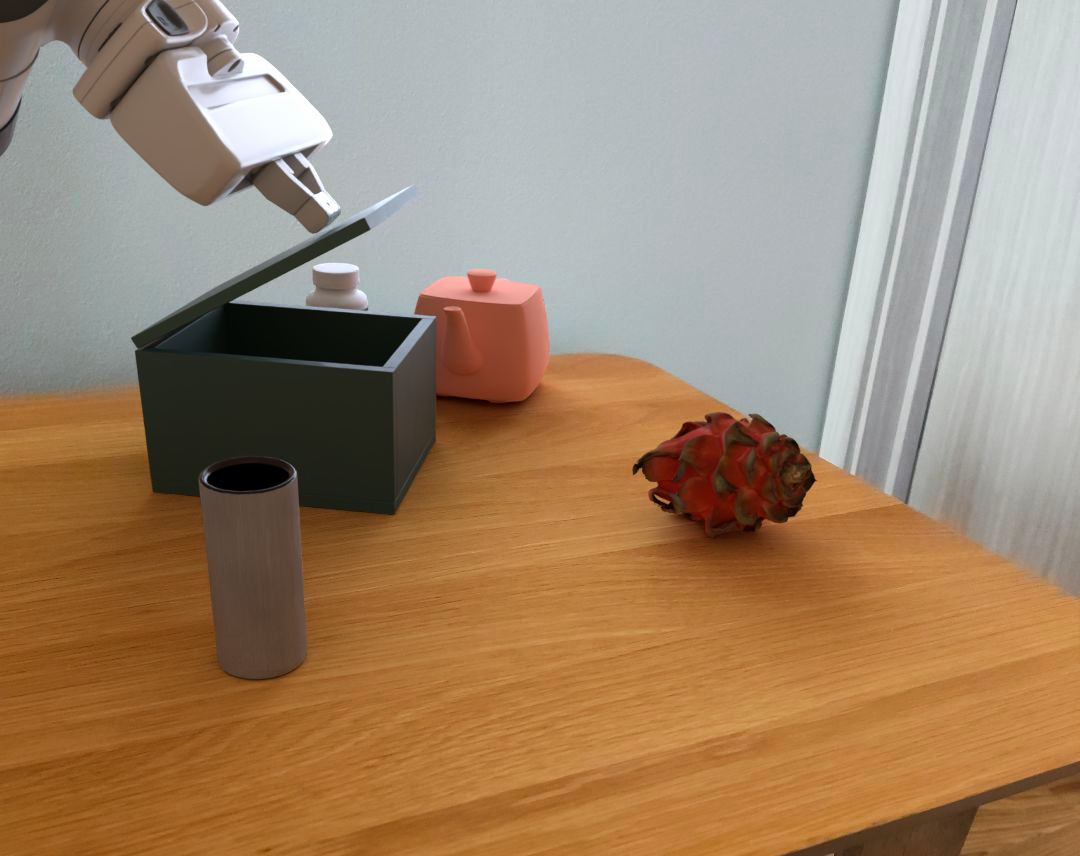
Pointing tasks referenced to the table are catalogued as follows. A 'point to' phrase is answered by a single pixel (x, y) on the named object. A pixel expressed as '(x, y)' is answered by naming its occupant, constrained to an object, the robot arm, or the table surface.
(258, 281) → the lid
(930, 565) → the table surface
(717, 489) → the dragon fruit
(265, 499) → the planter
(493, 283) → the teapot
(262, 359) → the box
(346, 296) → the pill bottle
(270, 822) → the table surface
